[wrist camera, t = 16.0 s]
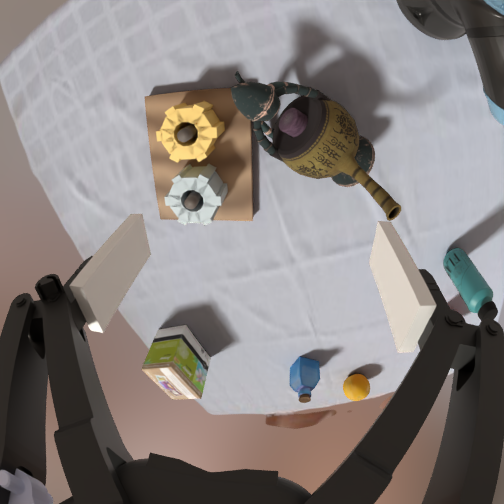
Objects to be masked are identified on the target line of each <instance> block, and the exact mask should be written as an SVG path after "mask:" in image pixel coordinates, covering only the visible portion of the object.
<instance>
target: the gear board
mask: <svg viewBox="0 0 504 504" xmlns="http://www.w3.org/2000/svg"><path fill="white" fill-rule="evenodd" d="M203 101H206V102H208V103H210V104H212V105H213V107H212V110H213V111H214V112H215V114H216V115H217V117H218V118H219V120H220V122H224V127H225V131H224V132H223V133H222V134H221V135H220V136H218V138H217V140H216V141H215V143H214V144H213V145H214V146H215V149H214V150H213V151H212V152H211V153H210V154H209V155H208V156H207V157H206V158H204V159H203V160H201V161H200V162H198V160H197V159H196V158H195V159H183V160H181V161H179V162H178V163H177V162H175V161H173V160H171V159H169V157H170V155H171V154H169V152H168V151H167V150H166V148H165V147H164V145H163V144H162V141H157V135H156V131H158V130H160V129H161V127H162V125H163V122H164V120H165V118H166V117H167V115H166V114H165V112H166V111H167V110H168V109H170V108H171V107H172V106H175V105H179V104H182V103H186V104H187V106H188V105H194V104H197V103H200V102H203ZM145 107H146V117H147V127H148V136H149V145H150V153H151V160H152V168H153V175H154V182H155V188H156V195H157V201H158V207H159V213H160V218H161V219H174V220H178V219H179V218H178V217H177V216H176V214H175V213H174V212H173V210H172V209H171V208H170V206H166V204H165V198H164V197H165V196H166V194H167V193H168V192H169V191H170V190H171V188H172V186H173V184H174V183H173V181H172V179H173V178H174V177H175V176H176V175H177V174H178V173H179V172H180V171H181V170H182V169H183V168H185V167H186V166H188V165H189V164H190V165H191V166H192V167H199V166H207V165H208V164H211V165H213V166H214V167H216V170H215V172H217V174H218V175H219V177H220V178H221V180H222V181H223V183H227V188H228V192H227V194H226V197H225V199H224V201H223V203H222V205H221V206H219V209H218V211H217V213H216V215H215V217H214V219H213V220H233V221H252V220H253V172H252V121H251V120H249V119H247V118H246V117H245V116H244V115H243V114H242V113H241V112H240V111H239V110H238V108H237V107H236V105H235V103H234V101H233V98H232V94H231V88H219V89H204V90H192V91H182V92H174V93H165V94H158V95H151V96H146V97H145ZM192 137H193V138H198V130H197V128H196V127H195V126H194V124H192V123H189V122H187V123H186V127H185V128H183V129H181V130H180V131H179V132H178V133H177V138H178V140H179V141H181V142H187V141H188V140H190V139H191V138H192ZM201 198H202V196H201V194H200V193H199V192H197V191H195V190H192V192H191V193H190V194H189V196H188V197H187V198H186V200H185V202H184V204H185V206H186V207H187V208H188V209H194V208H195V207H196V206H197V204H198V202H199V201H200V199H201Z"/></svg>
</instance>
